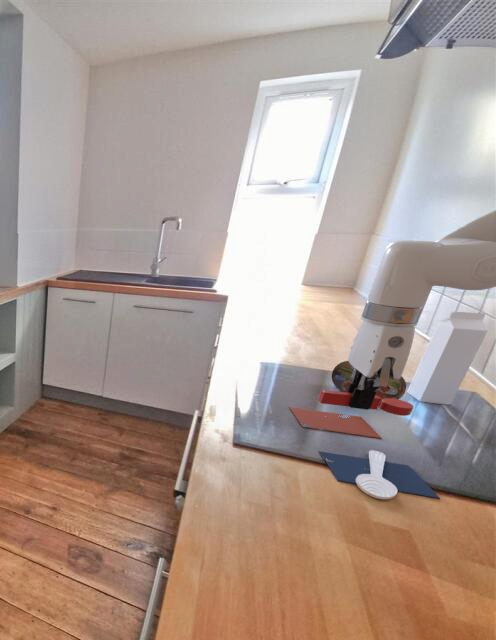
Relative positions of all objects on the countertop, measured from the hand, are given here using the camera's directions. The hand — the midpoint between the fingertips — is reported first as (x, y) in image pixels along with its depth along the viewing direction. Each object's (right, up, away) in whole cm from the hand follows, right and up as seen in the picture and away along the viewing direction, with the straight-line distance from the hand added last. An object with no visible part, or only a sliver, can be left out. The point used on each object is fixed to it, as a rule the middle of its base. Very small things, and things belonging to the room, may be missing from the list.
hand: (356, 404), depth 81 cm
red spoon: (+1, 0, 0) cm, 2 cm away
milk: (+38, 0, +23) cm, 45 cm away
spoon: (-2, -12, -6) cm, 14 cm away
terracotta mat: (+5, -4, +12) cm, 13 cm away
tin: (+23, +1, +24) cm, 33 cm away
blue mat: (-2, -12, -6) cm, 14 cm away
